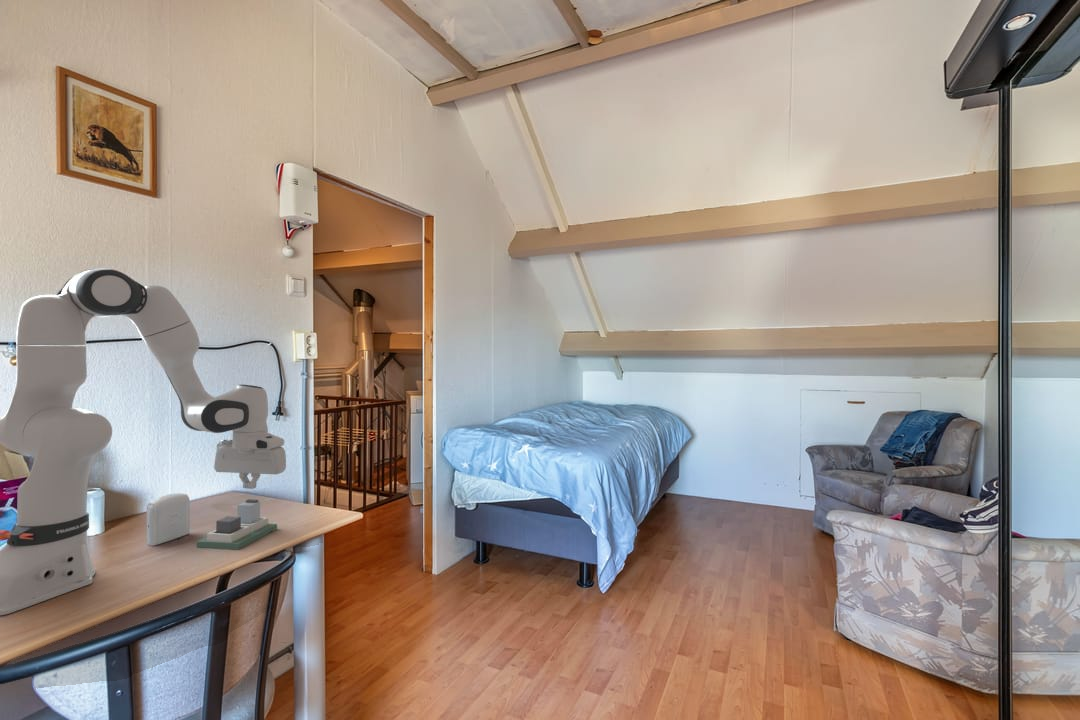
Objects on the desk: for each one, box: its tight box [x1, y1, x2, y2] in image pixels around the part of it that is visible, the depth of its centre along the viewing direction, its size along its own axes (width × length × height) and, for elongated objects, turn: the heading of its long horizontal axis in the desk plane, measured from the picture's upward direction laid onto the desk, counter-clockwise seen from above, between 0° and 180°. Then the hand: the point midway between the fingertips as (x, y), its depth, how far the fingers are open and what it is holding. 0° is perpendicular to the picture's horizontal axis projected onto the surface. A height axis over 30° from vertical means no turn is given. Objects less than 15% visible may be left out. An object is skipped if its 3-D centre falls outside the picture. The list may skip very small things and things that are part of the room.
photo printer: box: [146, 492, 191, 547], centre depth 136 cm, size 10×4×12 cm, turn 162°
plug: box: [237, 498, 261, 524], centre depth 142 cm, size 4×4×8 cm
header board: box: [196, 515, 278, 551], centre depth 138 cm, size 16×12×6 cm
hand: (249, 488), depth 142 cm, fingers closed
